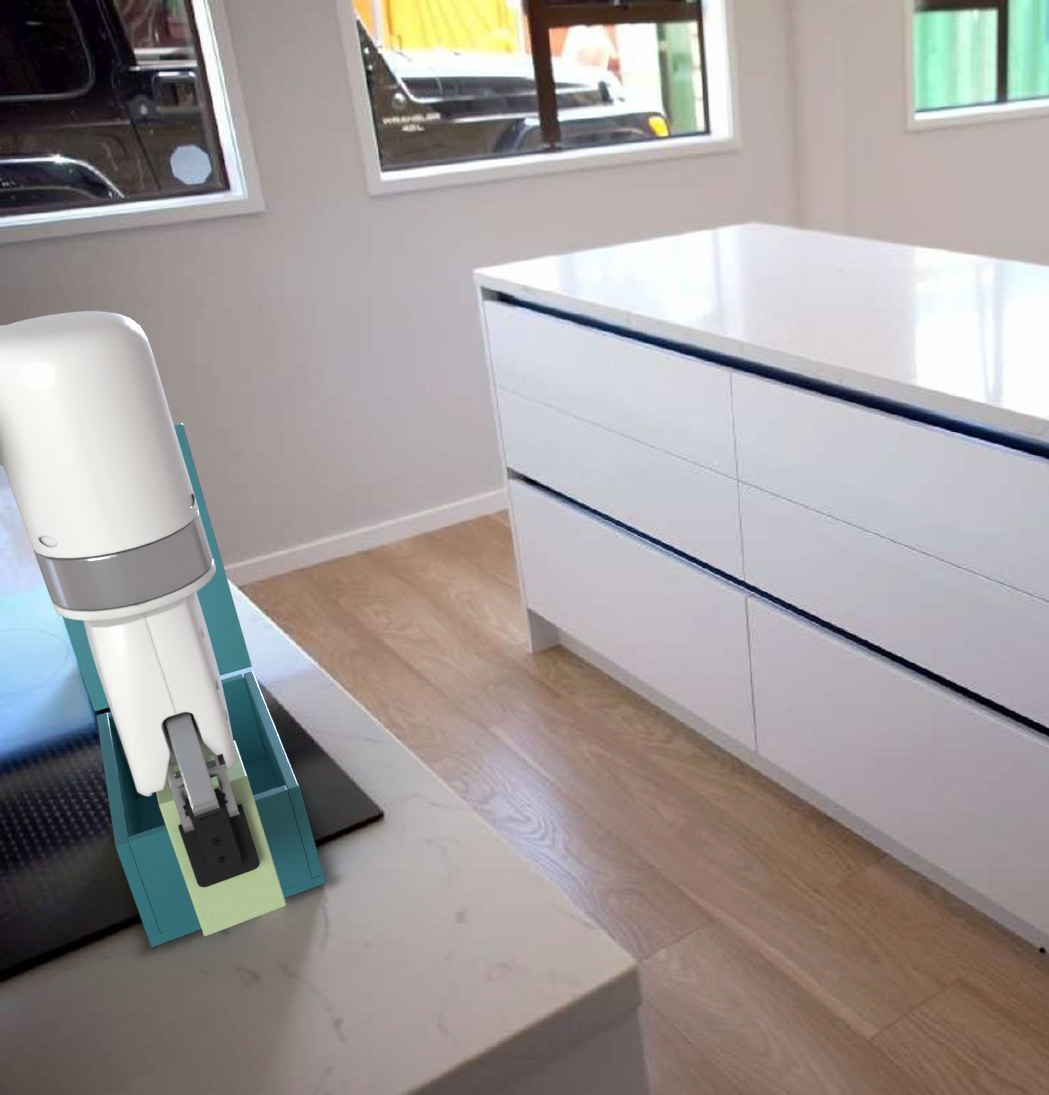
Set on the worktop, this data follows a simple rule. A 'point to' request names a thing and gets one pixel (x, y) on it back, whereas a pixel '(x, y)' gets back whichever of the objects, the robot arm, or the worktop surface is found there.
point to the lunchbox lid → (211, 599)
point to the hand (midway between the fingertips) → (222, 848)
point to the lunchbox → (148, 837)
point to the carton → (239, 893)
